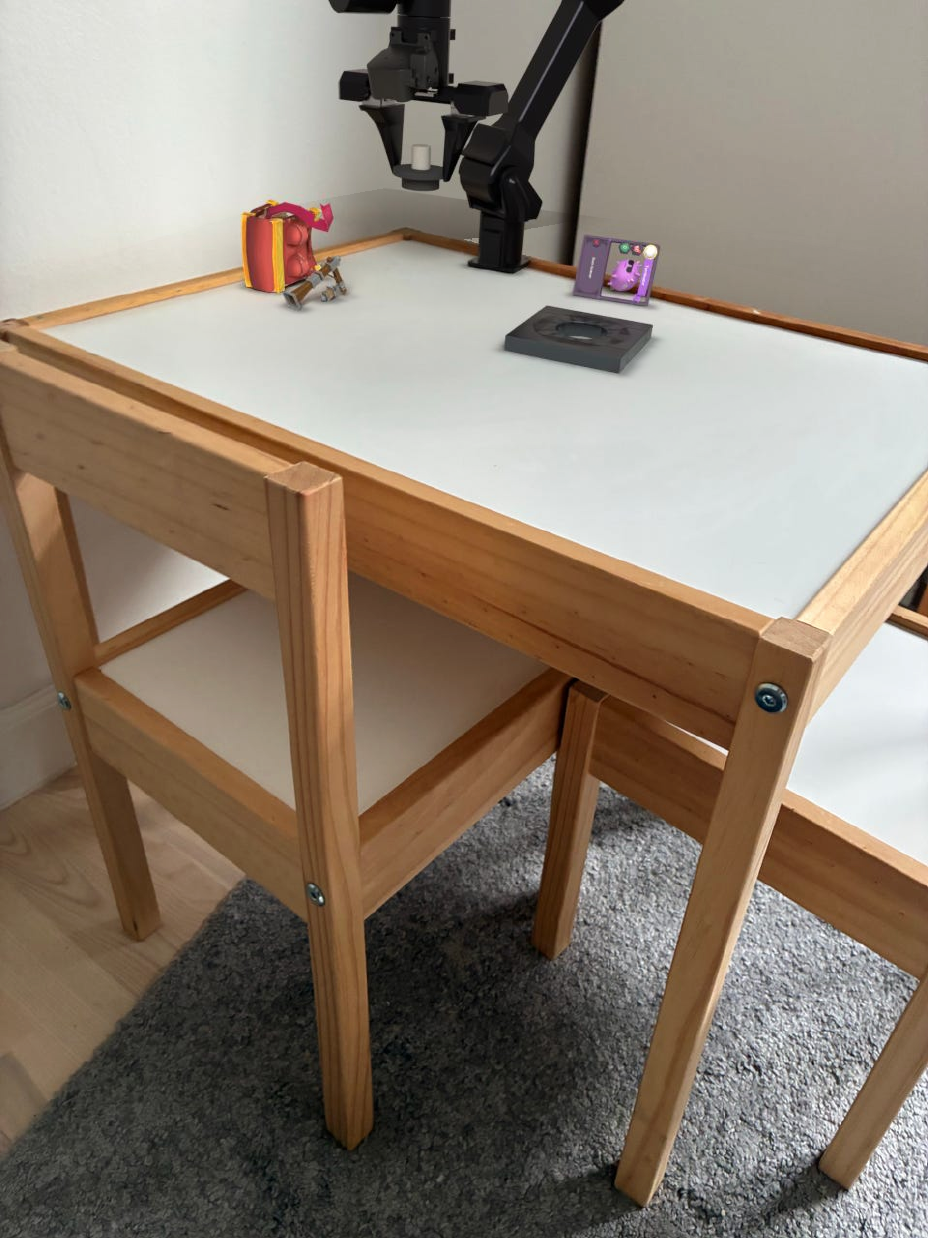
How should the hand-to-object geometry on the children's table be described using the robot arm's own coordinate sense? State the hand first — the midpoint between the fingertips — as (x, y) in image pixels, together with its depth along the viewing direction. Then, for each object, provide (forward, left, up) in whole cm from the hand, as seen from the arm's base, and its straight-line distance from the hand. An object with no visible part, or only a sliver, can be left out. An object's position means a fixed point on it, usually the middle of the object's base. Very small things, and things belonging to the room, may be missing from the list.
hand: (420, 177), depth 104 cm
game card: (-5, +23, -11) cm, 26 cm away
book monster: (+13, -10, -11) cm, 19 cm away
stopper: (0, 0, -1) cm, 1 cm away
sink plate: (+14, +25, -11) cm, 31 cm away
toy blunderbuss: (+17, -5, -11) cm, 20 cm away
